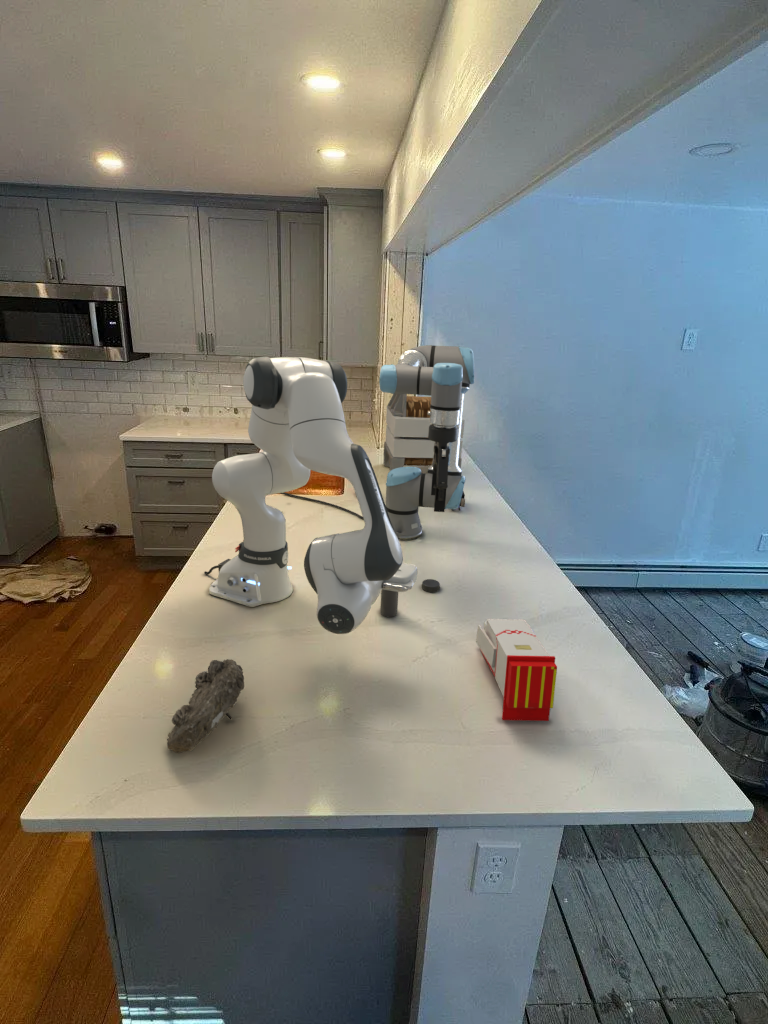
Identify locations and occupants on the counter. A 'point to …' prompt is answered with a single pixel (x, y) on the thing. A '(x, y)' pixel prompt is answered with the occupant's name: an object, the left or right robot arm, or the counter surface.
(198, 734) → the fossil
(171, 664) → the counter surface
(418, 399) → the grey slatted wooden crate
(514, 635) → the toy
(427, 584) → the lid
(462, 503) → the figurine character
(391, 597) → the jar
